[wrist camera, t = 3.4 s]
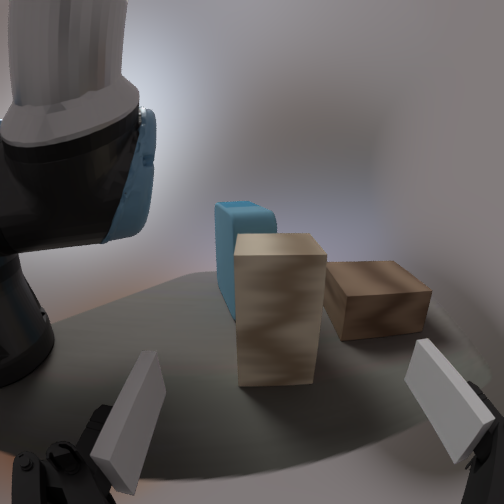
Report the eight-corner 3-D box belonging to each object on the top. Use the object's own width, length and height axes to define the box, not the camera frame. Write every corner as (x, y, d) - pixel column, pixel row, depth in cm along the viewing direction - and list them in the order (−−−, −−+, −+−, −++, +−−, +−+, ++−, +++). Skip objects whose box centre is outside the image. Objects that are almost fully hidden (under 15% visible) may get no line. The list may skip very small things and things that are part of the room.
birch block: (238, 386, 22) (233, 255, 18) (240, 345, 27) (237, 233, 24) (312, 383, 22) (327, 254, 19) (301, 343, 27) (309, 233, 24)
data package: (275, 320, 32) (277, 212, 29) (236, 326, 31) (232, 215, 27) (247, 281, 43) (246, 199, 40) (217, 284, 42) (213, 201, 39)
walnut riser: (340, 340, 27) (347, 296, 26) (320, 298, 37) (323, 262, 36) (422, 331, 27) (432, 290, 26) (387, 295, 37) (393, 260, 36)
